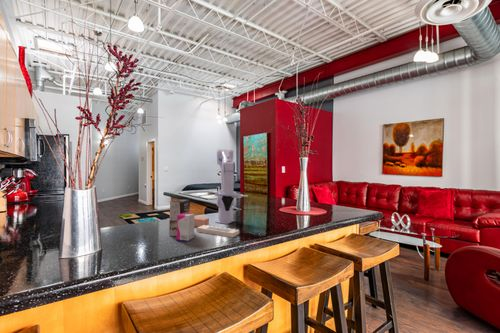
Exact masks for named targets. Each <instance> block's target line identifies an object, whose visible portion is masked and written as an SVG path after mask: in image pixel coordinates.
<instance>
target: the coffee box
mask: <svg viewBox="0 0 500 333" xmlns="http://www.w3.org/2000/svg"><path fill="white" fill-rule="evenodd" d="M190 211H191V200H190V199H182V198H180V199H175V200H170V202H169V225H168V236H170V237H171V236H172V237H177V215H179V214H182V213H191V212H190Z"/></svg>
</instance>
